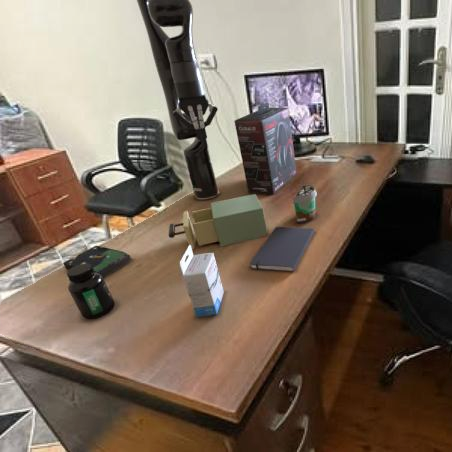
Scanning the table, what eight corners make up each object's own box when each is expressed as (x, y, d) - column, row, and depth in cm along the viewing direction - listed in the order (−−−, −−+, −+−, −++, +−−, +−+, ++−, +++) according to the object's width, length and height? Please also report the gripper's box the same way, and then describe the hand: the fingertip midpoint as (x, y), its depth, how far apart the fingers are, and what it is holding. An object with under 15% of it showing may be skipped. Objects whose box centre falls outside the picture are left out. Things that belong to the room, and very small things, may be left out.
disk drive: (65, 271, 100) (100, 280, 95) (61, 263, 99) (96, 271, 94) (99, 252, 109) (132, 259, 103) (95, 244, 107) (129, 251, 102)
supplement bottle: (107, 318, 81) (86, 276, 75) (76, 322, 81) (53, 280, 75) (120, 299, 87) (102, 259, 81) (92, 302, 87) (72, 262, 81)
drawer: (173, 253, 103) (165, 230, 99) (174, 236, 113) (167, 215, 109) (236, 239, 108) (230, 216, 105) (231, 223, 118) (226, 202, 114)
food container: (314, 225, 115) (311, 197, 110) (296, 225, 116) (292, 197, 111) (322, 209, 125) (320, 183, 121) (305, 209, 127) (303, 183, 122)
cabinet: (220, 246, 107) (213, 218, 102) (217, 228, 117) (210, 202, 113) (267, 235, 111) (262, 208, 107) (260, 219, 122) (255, 193, 117)
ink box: (217, 315, 79) (201, 261, 72) (195, 318, 79) (177, 264, 72) (224, 292, 87) (211, 241, 80) (204, 294, 87) (189, 243, 80)
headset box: (274, 195, 140) (260, 109, 124) (246, 193, 144) (230, 110, 128) (297, 174, 160) (288, 98, 145) (273, 173, 164) (261, 98, 148)
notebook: (293, 271, 92) (314, 232, 111) (293, 267, 92) (313, 228, 110) (249, 268, 95) (276, 230, 113) (248, 263, 94) (276, 226, 113)
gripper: (211, 76, 103) (223, 135, 111) (163, 80, 99) (180, 141, 108) (213, 77, 97) (226, 140, 105) (162, 83, 93) (179, 147, 101)
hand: (202, 140), depth 106 cm, fingers closed
